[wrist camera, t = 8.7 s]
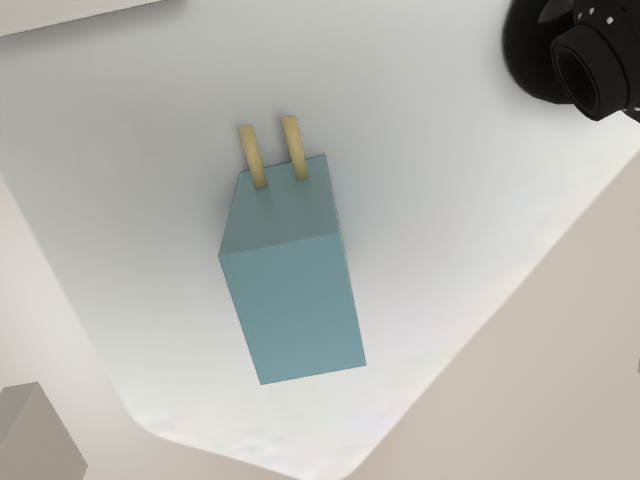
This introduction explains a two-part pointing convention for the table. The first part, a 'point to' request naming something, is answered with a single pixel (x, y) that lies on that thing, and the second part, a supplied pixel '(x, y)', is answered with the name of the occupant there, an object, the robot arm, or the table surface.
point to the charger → (290, 266)
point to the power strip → (54, 12)
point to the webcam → (578, 55)
